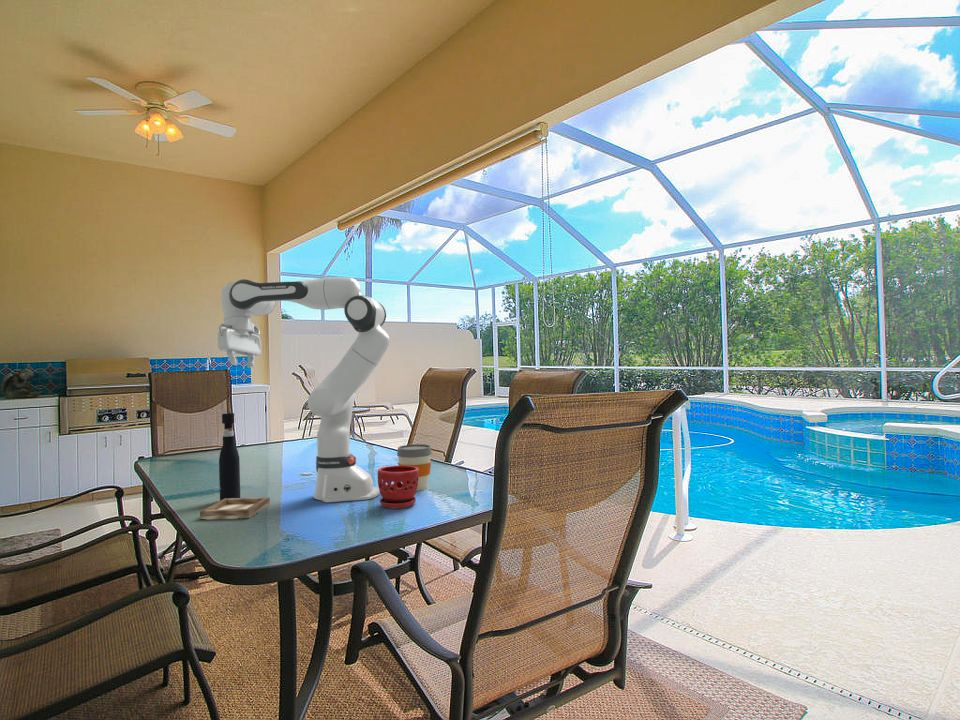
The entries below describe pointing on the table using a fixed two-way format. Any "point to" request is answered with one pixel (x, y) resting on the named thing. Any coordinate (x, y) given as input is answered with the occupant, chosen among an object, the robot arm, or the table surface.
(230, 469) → the wine bottle
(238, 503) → the bottle coaster
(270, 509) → the table surface
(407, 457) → the reusable coffee cup
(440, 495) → the table surface
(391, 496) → the plant pot
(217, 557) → the table surface
